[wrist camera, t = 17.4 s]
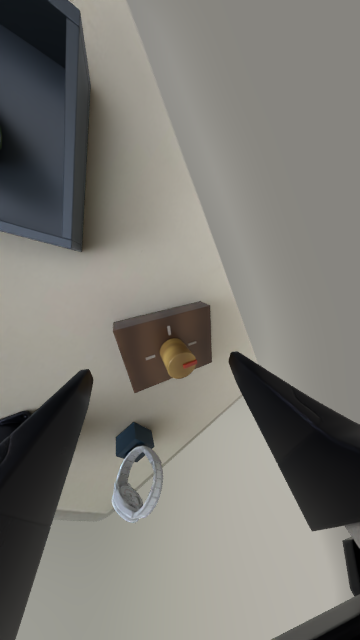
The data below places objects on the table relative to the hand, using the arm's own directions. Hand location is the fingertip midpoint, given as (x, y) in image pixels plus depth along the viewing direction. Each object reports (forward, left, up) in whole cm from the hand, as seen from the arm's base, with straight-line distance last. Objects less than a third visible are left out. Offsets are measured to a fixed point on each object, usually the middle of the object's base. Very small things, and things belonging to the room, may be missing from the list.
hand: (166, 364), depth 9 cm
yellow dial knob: (+3, -7, -10) cm, 13 cm away
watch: (-7, -26, -14) cm, 30 cm away
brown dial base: (+3, -7, -13) cm, 15 cm away
